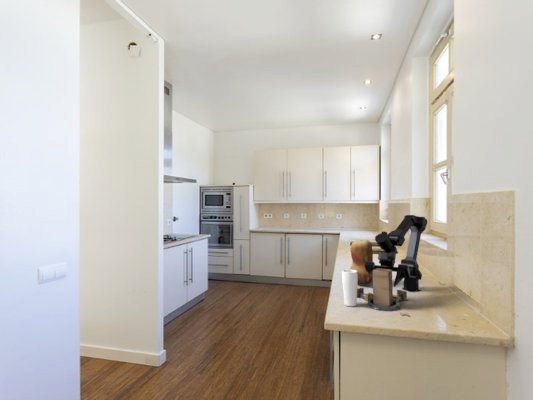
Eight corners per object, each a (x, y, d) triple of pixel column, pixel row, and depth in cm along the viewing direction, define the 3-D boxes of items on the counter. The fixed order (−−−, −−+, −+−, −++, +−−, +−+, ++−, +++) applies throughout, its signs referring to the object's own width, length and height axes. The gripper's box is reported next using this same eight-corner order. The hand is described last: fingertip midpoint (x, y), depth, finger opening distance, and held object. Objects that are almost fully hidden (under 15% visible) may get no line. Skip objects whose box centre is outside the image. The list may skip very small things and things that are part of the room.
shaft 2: (398, 298, 141) (398, 289, 141) (406, 300, 138) (406, 291, 138) (388, 301, 136) (388, 292, 136) (396, 303, 133) (396, 294, 133)
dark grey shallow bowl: (386, 299, 139) (386, 296, 139) (406, 309, 126) (406, 305, 126) (361, 302, 136) (361, 299, 136) (379, 312, 123) (378, 308, 123)
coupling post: (377, 301, 135) (376, 268, 136) (392, 304, 132) (392, 269, 132) (373, 305, 130) (372, 270, 130) (389, 308, 126) (388, 272, 127)
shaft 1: (355, 297, 144) (355, 288, 144) (362, 295, 145) (361, 287, 146) (367, 301, 136) (367, 293, 136) (374, 300, 138) (374, 291, 138)
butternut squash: (345, 283, 170) (344, 238, 171) (365, 281, 174) (364, 237, 175) (360, 289, 157) (359, 241, 157) (381, 287, 161) (380, 240, 162)
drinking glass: (349, 308, 128) (349, 273, 128) (339, 304, 134) (338, 270, 134) (361, 305, 131) (360, 271, 131) (350, 301, 137) (349, 268, 137)
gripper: (364, 244, 142) (357, 271, 133) (407, 246, 131) (403, 277, 122) (370, 258, 148) (363, 285, 139) (411, 261, 137) (407, 291, 128)
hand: (383, 284), depth 132 cm, fingers open, 9 cm apart
